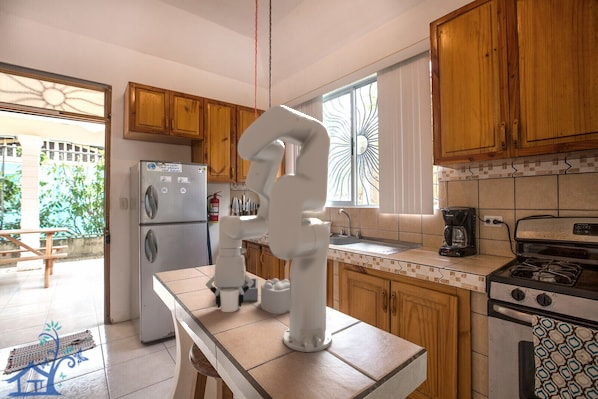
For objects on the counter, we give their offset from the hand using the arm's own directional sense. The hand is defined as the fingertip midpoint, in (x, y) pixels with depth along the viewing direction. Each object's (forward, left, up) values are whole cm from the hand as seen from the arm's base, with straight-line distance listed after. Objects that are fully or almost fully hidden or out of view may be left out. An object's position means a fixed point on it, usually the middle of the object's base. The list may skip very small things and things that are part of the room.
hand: (229, 305), depth 90 cm
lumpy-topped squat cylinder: (+1, -16, -1) cm, 16 cm away
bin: (+13, -3, -1) cm, 13 cm away
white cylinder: (0, 0, -1) cm, 1 cm away
